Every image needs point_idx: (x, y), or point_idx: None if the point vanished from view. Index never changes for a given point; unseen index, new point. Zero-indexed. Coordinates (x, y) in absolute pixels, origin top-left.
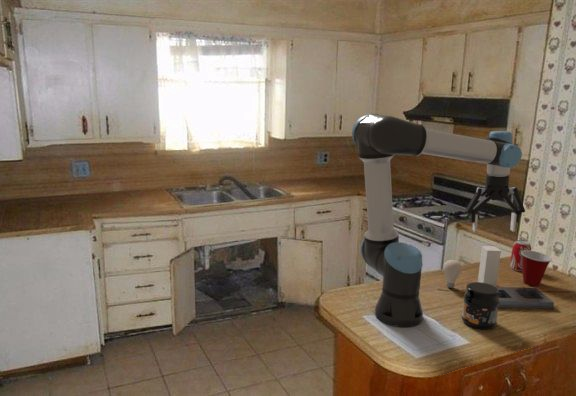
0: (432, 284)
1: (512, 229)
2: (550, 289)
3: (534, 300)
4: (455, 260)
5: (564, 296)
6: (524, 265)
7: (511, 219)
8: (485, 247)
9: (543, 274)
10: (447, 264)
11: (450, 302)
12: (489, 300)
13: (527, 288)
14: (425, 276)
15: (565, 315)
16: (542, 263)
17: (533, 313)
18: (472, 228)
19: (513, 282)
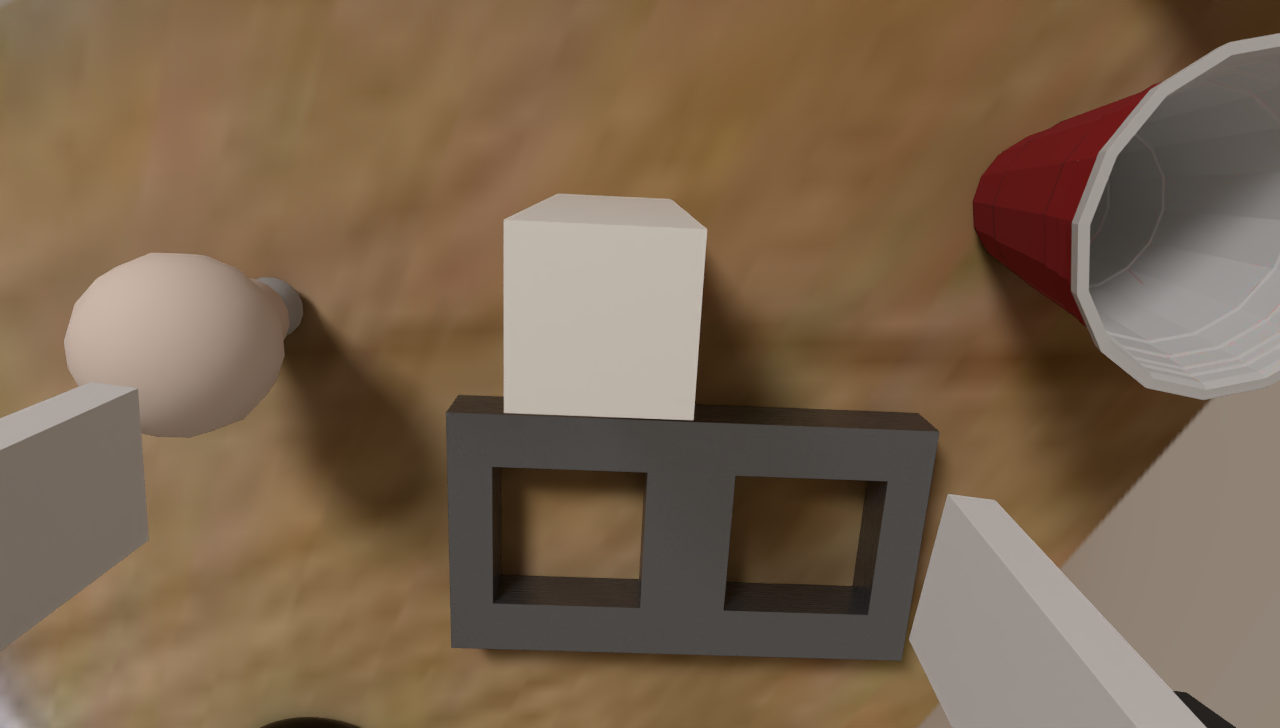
0: (139, 239)
1: (930, 634)
2: None
3: (780, 636)
4: (157, 354)
5: (1117, 445)
6: (1034, 225)
7: (1072, 699)
8: (531, 282)
9: (1149, 287)
10: (79, 386)
11: (216, 552)
12: None
13: (859, 444)
14: (103, 49)
15: (904, 701)
16: (1177, 369)
17: (717, 682)
18: (66, 393)
19: (886, 183)
